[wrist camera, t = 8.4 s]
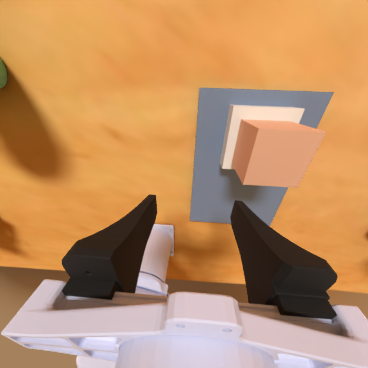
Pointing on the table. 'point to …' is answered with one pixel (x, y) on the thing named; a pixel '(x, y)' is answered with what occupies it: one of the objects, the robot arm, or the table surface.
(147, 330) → the robot arm
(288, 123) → the terracotta block
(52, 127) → the table surface
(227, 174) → the board
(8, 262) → the table surface
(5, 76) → the mug
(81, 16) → the table surface
